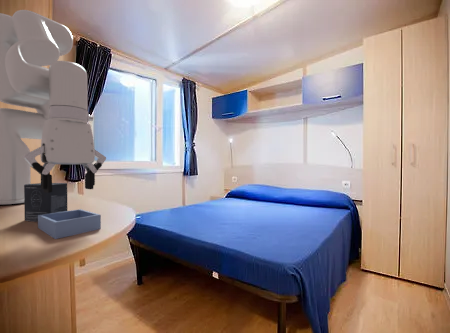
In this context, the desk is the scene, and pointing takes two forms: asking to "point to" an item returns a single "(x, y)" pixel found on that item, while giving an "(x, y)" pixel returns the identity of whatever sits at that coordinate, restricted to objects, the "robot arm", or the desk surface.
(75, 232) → the tray
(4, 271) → the desk surface
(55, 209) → the box
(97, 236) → the desk surface
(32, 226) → the desk surface
